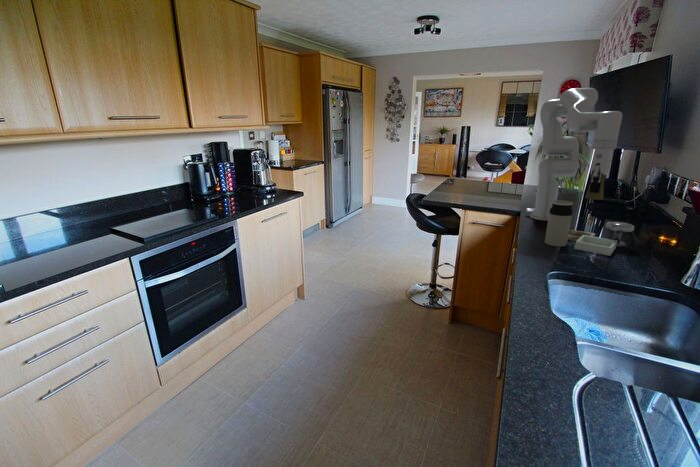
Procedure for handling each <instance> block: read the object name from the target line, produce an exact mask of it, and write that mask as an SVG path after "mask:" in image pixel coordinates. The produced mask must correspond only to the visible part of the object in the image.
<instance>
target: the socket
mask: <svg viewBox="0 0 700 467" xmlns="http://www.w3.org/2000/svg"><path fill="white" fill-rule="evenodd" d="M582 235H587V236H593V237H596V233H594V232H588V231H580V230H576V229H575V230H574V229H569V235H568V240H567V241H572V242H576V241H577V240H578V239H579V238H580V237H581V236H582ZM585 240H586V239H585ZM589 241H590V240H589Z"/></svg>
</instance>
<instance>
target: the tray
mask: <svg viewBox="0 0 700 467" xmlns="http://www.w3.org/2000/svg"><path fill="white" fill-rule="evenodd" d="M579 237H580V238H579V239H578V240H577V241H575V244H574V249H575V250H580V251H584V252H589V253H594V254H599V255H604V256H612V254H613V253H614V251H615V249H616V248H617V246H616V245H617V241H616V240H613V239H609V238H605V237H604V238H603V237H598V236H595V237H593V236H587V235H582V236H579ZM585 239H586V240H585ZM589 240H590V241H589Z"/></svg>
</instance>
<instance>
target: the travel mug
mask: <svg viewBox="0 0 700 467" xmlns="http://www.w3.org/2000/svg"><path fill="white" fill-rule="evenodd" d="M573 205H574V202H572V201H570V200H569V201H568V200H561V199H559V200H558V199H557V201H552V207H551V208H550V212H549V218H548V221H547V226H546V232H545V238H544V243H545V244H547V245H548V246H551V247H559V248H561V247H562V248H563V247H566V246H567V244H568V241H569V240H568V235H569V229H570V228H571V225H572V224H571V222H572V217H573V213H574V212H573V209H572V207H573ZM570 230H571V229H570Z"/></svg>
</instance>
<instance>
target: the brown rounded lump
mask: <svg viewBox="0 0 700 467" xmlns="http://www.w3.org/2000/svg"><path fill="white" fill-rule="evenodd" d="M593 172H594V171H593ZM592 174H593V173H592ZM592 174H591V173H590V183H589V185H588V189H587V191H586V194H585V199H588V200H599V201H600V200H604V197H605V196H604V191H605V190H604V188H605V180H606V179H607V176H608V174H606V175H603V174H602V176H601V181H600V183H601V186H600V191H599V193H591V192H589V190H590V185H591V181H592V176H593V175H592ZM598 175H600V173H598ZM598 177H599V176H598Z"/></svg>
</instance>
